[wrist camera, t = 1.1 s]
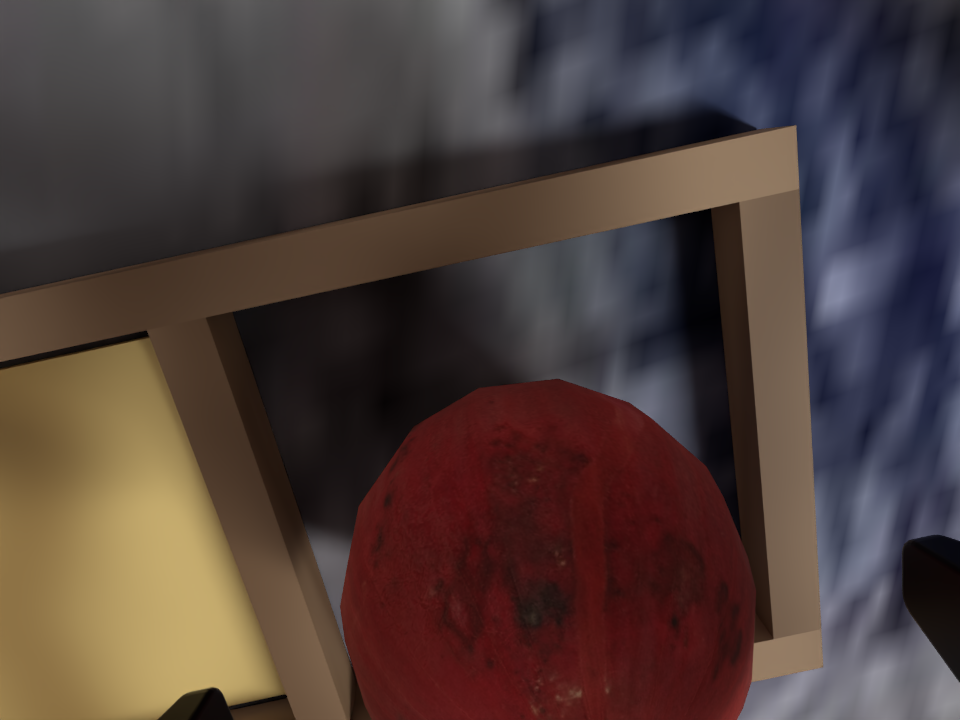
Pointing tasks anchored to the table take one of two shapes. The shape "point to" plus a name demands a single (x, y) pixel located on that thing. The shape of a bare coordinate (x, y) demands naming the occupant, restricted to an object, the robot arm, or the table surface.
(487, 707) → the red pomegranate
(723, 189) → the wooden divided frame
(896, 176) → the table surface
